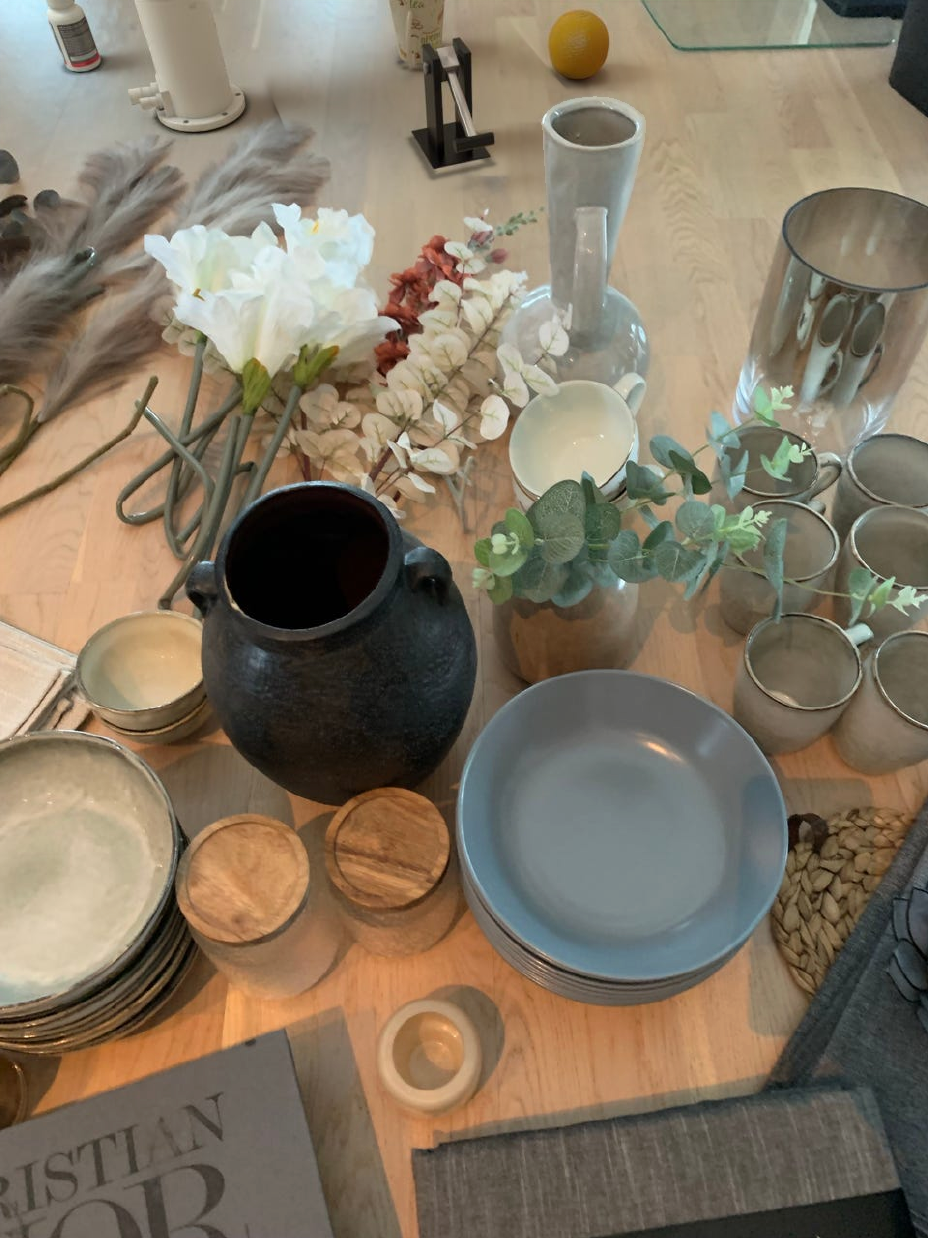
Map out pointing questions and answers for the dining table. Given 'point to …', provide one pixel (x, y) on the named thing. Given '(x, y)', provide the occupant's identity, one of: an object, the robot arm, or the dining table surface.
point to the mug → (417, 26)
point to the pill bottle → (72, 35)
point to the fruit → (578, 44)
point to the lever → (461, 103)
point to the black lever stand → (438, 135)
